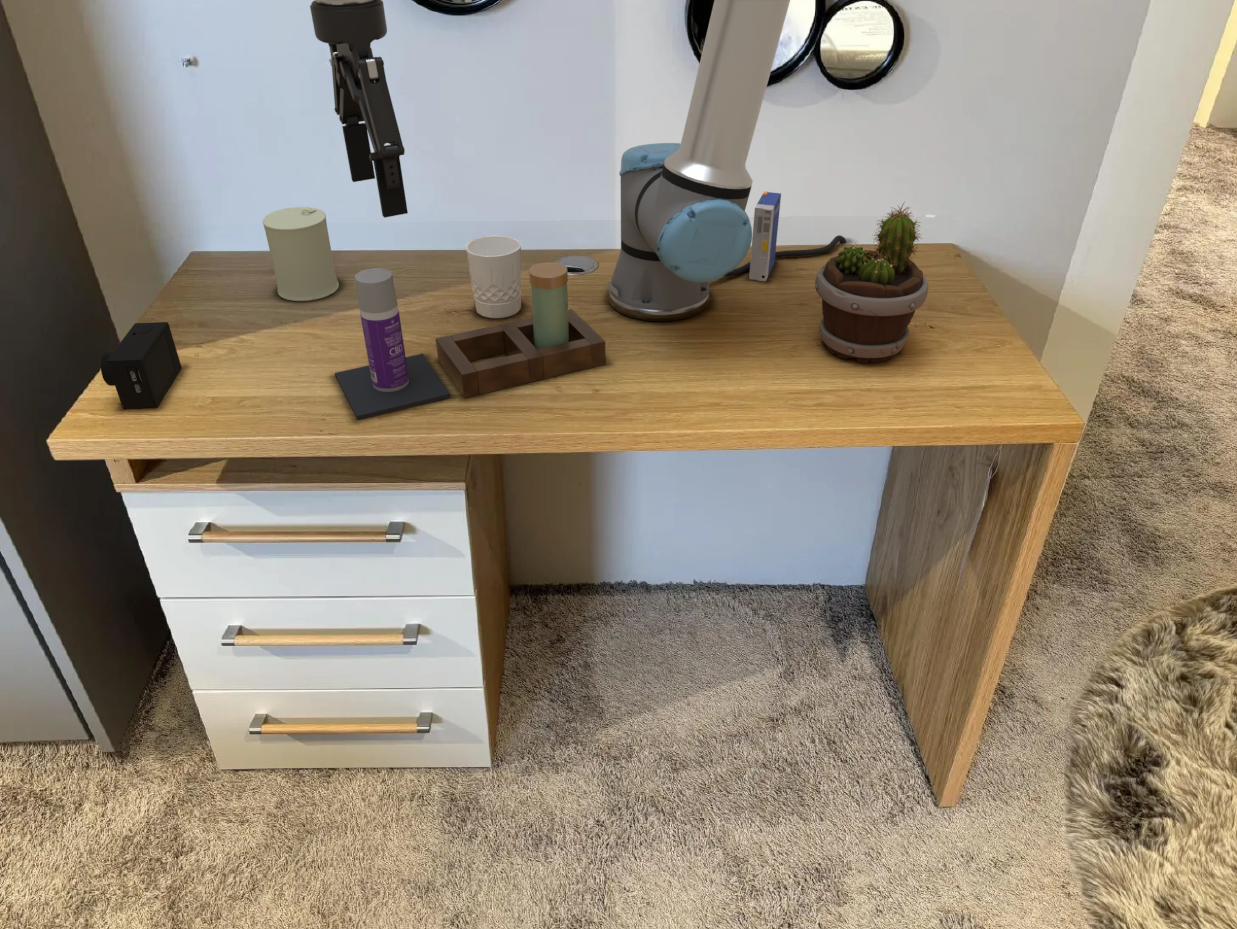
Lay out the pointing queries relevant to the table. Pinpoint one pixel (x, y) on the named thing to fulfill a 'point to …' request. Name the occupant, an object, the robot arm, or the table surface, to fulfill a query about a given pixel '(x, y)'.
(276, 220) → the can
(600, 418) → the table surface
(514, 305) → the white cup
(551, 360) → the bottle rack
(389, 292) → the container
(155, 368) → the digital camera
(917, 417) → the table surface
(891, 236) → the flowerpot
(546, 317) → the spice jar
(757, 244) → the walkman
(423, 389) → the mat
